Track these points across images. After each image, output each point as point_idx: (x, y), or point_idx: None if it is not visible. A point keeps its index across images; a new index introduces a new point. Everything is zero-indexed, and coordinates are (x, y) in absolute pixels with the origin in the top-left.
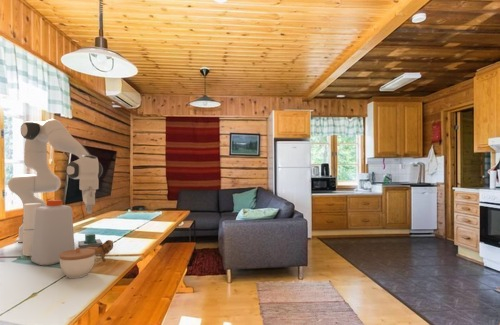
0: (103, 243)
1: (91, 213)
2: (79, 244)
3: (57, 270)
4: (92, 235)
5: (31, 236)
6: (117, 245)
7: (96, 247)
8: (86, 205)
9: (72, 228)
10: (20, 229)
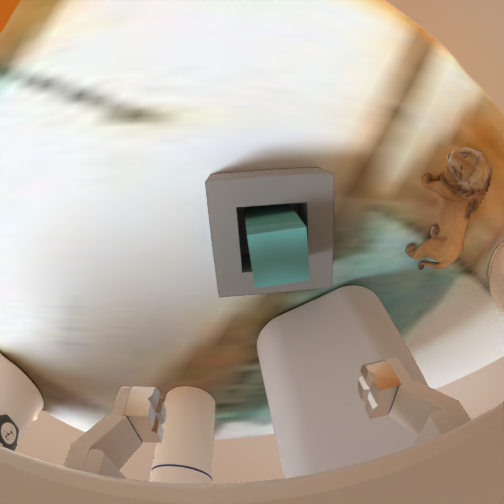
0: (481, 197)
1: (396, 358)
2: (296, 289)
3: (444, 313)
4: (307, 243)
5: (212, 456)
6: (186, 80)
7: (464, 222)
8: (117, 460)
9: (418, 377)
10: (22, 435)
